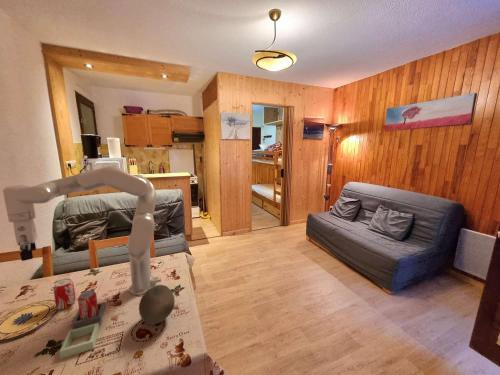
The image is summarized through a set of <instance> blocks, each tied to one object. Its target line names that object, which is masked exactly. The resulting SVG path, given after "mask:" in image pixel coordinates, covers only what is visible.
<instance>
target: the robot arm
mask: <svg viewBox="0 0 500 375" xmlns="http://www.w3.org/2000/svg"><path fill="white" fill-rule="evenodd" d="M105 187H110V188H113V189H116V190H117V191H121V192H124V193H126V194H129V195H131V196H135V197H137V201H136V202H137V203H136V208H135V212H134V216H133V218H132V225H131V226H132V227H131V230H130V232H131V233H130V234H129V236H128V238H127V252H128V254H129V258H128V259H129V268H130V275H131V276H130V277H131V284H130V285H129V288H128V292H129V294H131V295H133V296H141V295H142V296H143V295H144V293H145V292H146V291H147V290H149V289H150V288H152V287H154V286H156V283H157V284H158V283H160V282H162V278H161V277H159V276H153V274H152V264H151V262H152V261H151V251H150V249H151V246H152V241H153V237H154V232H155V226H156V225H155V219H154V214H155V208H156V203H157V191H156V189H155V186H154V184H153V183H152V181H150V180H149V179H148V178H146V177H145V176H142V175H133V174H131V173H129V172H126V171H124V170H123V169H122V168H121V167H119V166H117V165H108V166H104V167H100V168H96V169H92V170H88V171H84V172H80V173H76V174H73V175H70V176H67V177H66V176H65V177H62V178H57V179H53V180H50V181H45V182H43V183H39V184H36V185H32V186H28V185H24V184H23V185H22V184H20V185H10V186H6V187H4V188H3V189H2V193H3V198H4V204H5V205H4V206H5V208H6V209H5V210H6V214H7V218H8V219H7V220H8V222H9V223H12V224H13V225H12V226H13V231H14V232H13V233H14V236H15V241H16V245H17V246H18V247H19V254H20V259H21V261H22V262H25V261H28V260H32V259H34V255H33V251H36V250H37V246H36V240H37V239H38V233H37V229H36V224H35V221H34V219H36V211H35V205H36V204H37V205H38V204H47V203H49V202H50V201H52V200H54V199H55V198H58V197H61V196H65V195H68V194H73V193H78V192H81V193H85V192H91V191H94V190H97V189H102V188H105ZM34 204H35V205H34Z"/></svg>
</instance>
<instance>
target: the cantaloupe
mask: <svg viewBox="0 0 500 375" xmlns="http://www.w3.org/2000/svg"><path fill="white" fill-rule="evenodd" d="M175 302H176V300H175V295H174V293H173V291H172V290H171V289H170V288H169V287H168V286H167V285H164V284H158V285H155V286H154V287H152V288H150V289H149V290H147V291H146V292H145V293H144V294H142V296H141V298H140V301H139V306H138V310H139V316H140V317H141V319H142V320H143V321H144V322H145V324H149V325H157V324H160V323H162V322H164V321H165V320H166V319H167V318H168V317H169V316H170V315H171V313H172V312H173V310H174V308H175Z"/></svg>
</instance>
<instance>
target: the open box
mask: <svg viewBox="0 0 500 375" xmlns="http://www.w3.org/2000/svg"><path fill="white" fill-rule="evenodd" d="M105 303H106V302H99V303H97V304H98V313H99V314H98V316H95V317H91V318H87V319H83V320H81V319H80V312H79V308H78V310H77V312H76V313H75V317H74V318H73V321H72V322H71V326H72V328H71V330H68V332H67V334H66V337H65V339H64V341H63V343H62V346H61V348H60V350H59V356H60V360H62V359H65V358H67V357H71V356H74V355H78V354H80V353H85V352H87V351H91V350H93V349H94V348H95V345H96V341H97V338H98V334H99V330H100V328H101V324H102V321H103V318H104V313H105V310H106V305H105ZM89 334H91V337H90V339H89V340H88V341H87V340H86V341H84V342H80V343H78V344H73V345H71V343H72V341H73V339H75V338H79V337H83V336H86V335H89Z"/></svg>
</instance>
